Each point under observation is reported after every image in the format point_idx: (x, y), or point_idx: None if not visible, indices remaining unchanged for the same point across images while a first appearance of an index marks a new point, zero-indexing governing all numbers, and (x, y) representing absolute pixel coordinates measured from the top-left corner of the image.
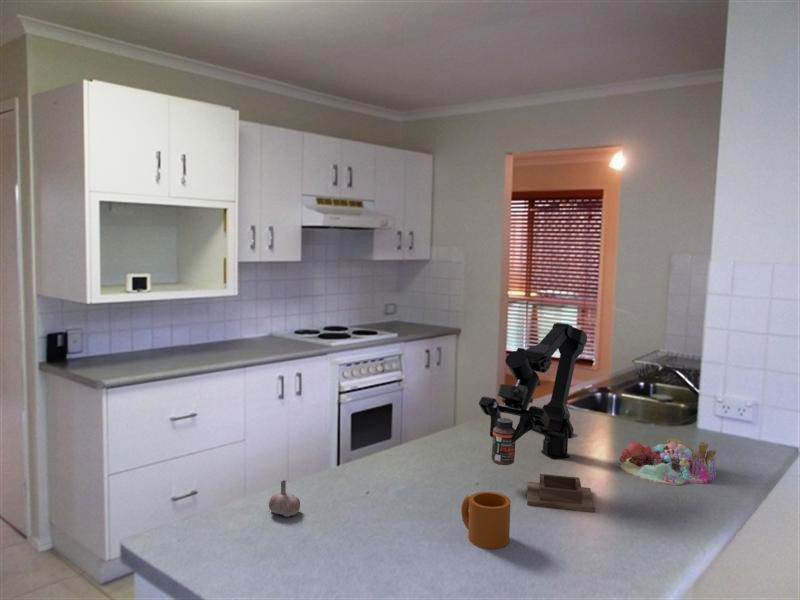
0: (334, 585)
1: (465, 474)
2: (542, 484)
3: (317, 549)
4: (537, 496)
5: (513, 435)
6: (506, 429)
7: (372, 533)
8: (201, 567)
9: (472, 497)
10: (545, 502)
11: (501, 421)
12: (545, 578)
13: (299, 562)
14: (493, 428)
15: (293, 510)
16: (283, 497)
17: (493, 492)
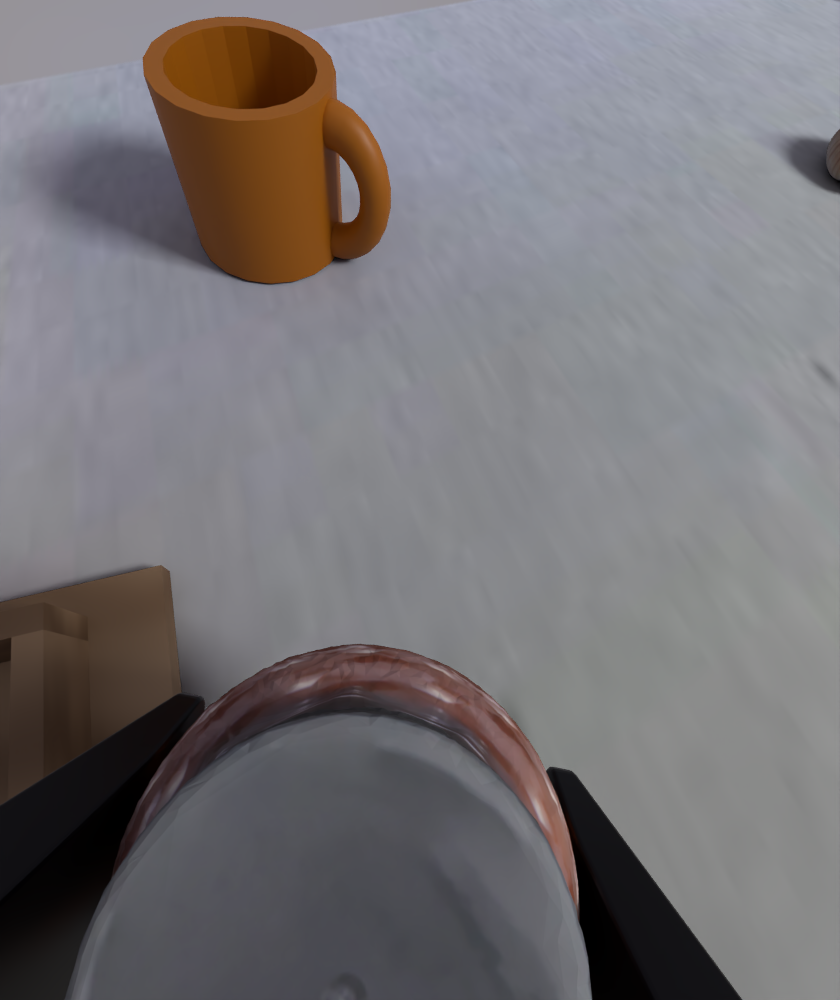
0: (516, 9)
1: (647, 852)
2: (25, 682)
3: (643, 82)
4: (103, 662)
5: (147, 744)
6: (266, 727)
7: (595, 163)
8: (750, 2)
9: (322, 66)
10: (51, 597)
11: (397, 748)
12: (68, 118)
13: (631, 43)
14: (588, 881)
15: (834, 140)
16: None
17: (242, 118)
